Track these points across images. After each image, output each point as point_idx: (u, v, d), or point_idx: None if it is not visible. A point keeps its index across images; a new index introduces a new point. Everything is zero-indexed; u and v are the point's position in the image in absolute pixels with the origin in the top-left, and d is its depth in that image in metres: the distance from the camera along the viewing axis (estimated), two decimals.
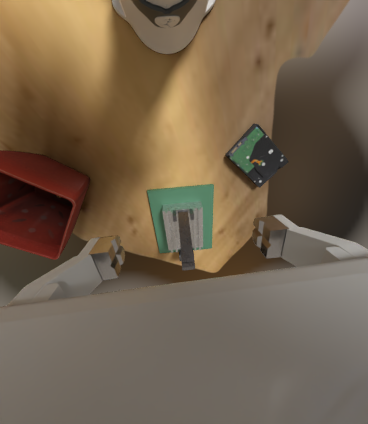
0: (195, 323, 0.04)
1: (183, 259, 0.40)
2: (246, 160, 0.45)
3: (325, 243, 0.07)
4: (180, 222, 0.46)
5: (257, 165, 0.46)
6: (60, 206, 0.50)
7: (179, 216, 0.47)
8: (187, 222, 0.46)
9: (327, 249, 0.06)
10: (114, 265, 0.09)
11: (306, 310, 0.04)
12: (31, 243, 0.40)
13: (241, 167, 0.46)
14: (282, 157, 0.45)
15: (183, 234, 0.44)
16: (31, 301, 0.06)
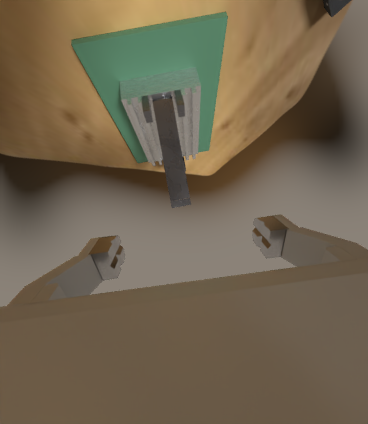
0: (195, 323, 0.04)
1: (172, 195, 0.25)
2: None
3: (325, 243, 0.07)
4: (160, 124, 0.25)
5: None
6: None
7: (156, 110, 0.25)
8: (173, 123, 0.25)
9: (327, 249, 0.06)
10: (114, 265, 0.09)
11: (306, 310, 0.04)
12: None
13: None
14: None
15: (168, 150, 0.25)
16: (31, 301, 0.06)
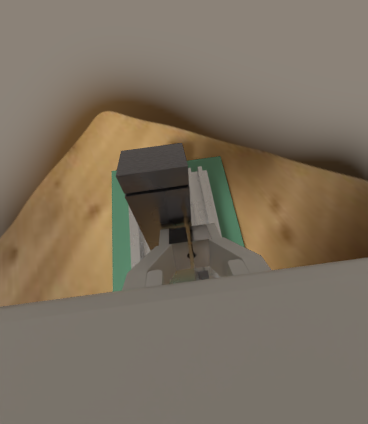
0: (195, 323, 0.04)
1: (180, 200, 0.08)
2: None
3: (233, 255, 0.07)
4: (189, 275, 0.16)
5: None
6: None
7: None
8: None
9: (229, 262, 0.06)
10: (188, 255, 0.09)
11: (306, 310, 0.04)
12: None
13: None
14: None
15: None
16: (145, 286, 0.06)
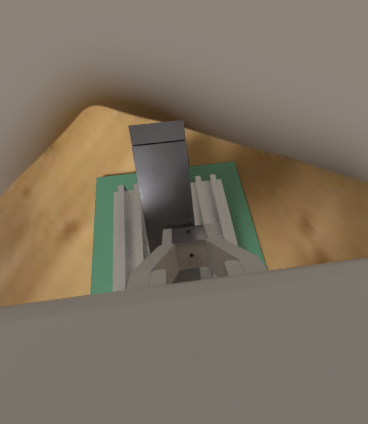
0: (195, 323, 0.04)
1: (179, 156, 0.09)
2: None
3: (230, 255, 0.07)
4: None
5: None
6: None
7: None
8: None
9: (225, 262, 0.06)
10: (191, 255, 0.09)
11: (306, 310, 0.04)
12: None
13: None
14: None
15: None
16: (149, 285, 0.06)
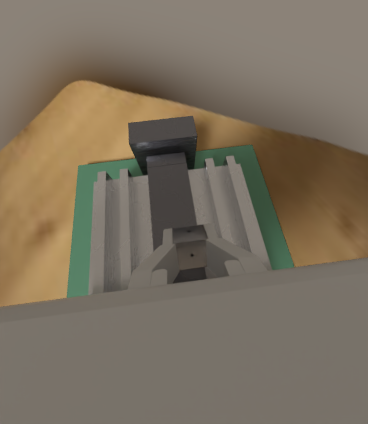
0: (195, 323, 0.04)
1: (181, 172, 0.12)
2: None
3: (230, 255, 0.07)
4: None
5: None
6: None
7: None
8: None
9: (225, 263, 0.06)
10: (192, 255, 0.09)
11: (306, 310, 0.04)
12: None
13: None
14: None
15: (187, 269, 0.10)
16: (150, 285, 0.06)
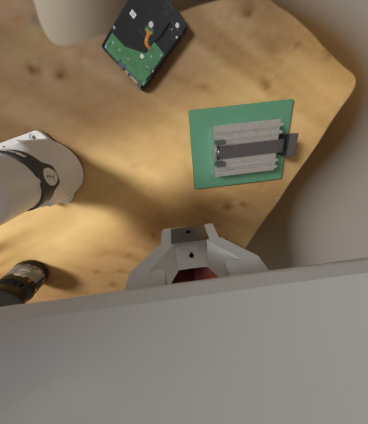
0: (195, 323, 0.04)
1: (275, 150, 0.41)
2: (146, 57, 0.34)
3: (231, 255, 0.07)
4: (233, 155, 0.40)
5: (152, 35, 0.33)
6: None
7: (224, 157, 0.40)
8: (234, 147, 0.40)
9: (226, 262, 0.06)
10: (190, 255, 0.09)
11: (306, 310, 0.04)
12: None
13: (155, 65, 0.35)
14: None
15: (249, 151, 0.40)
16: (148, 285, 0.06)
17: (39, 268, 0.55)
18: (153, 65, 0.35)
